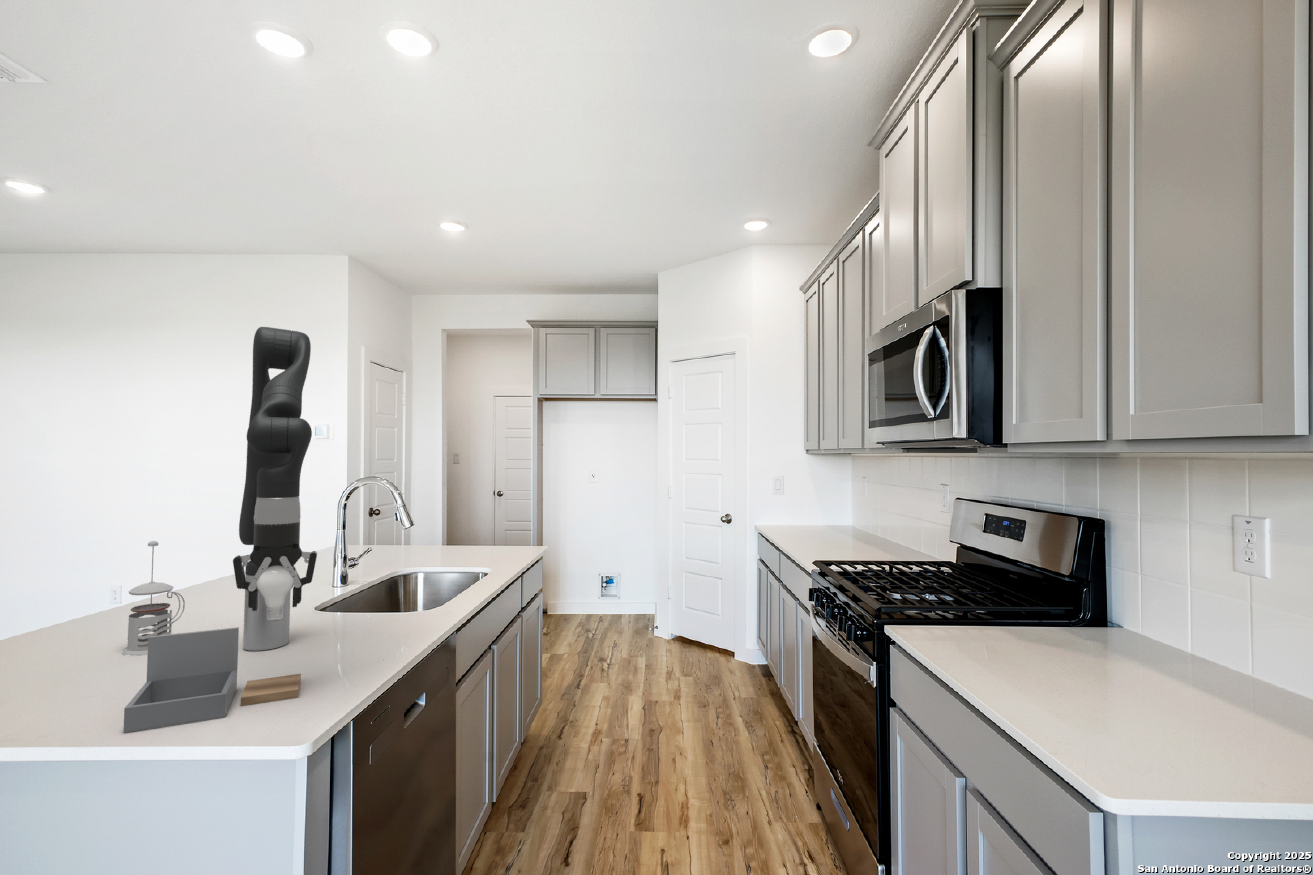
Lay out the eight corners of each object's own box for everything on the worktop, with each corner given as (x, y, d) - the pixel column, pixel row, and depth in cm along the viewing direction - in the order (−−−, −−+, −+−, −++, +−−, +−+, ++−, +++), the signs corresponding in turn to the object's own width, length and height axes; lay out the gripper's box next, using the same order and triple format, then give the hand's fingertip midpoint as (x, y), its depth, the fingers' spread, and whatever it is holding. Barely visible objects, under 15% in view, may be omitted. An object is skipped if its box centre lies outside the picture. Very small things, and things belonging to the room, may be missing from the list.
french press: (111, 652, 137) (115, 542, 138) (168, 638, 148) (172, 536, 149) (137, 658, 133) (141, 545, 134) (194, 643, 144) (197, 538, 145)
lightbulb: (266, 617, 118) (268, 560, 119) (300, 616, 119) (301, 560, 119) (247, 626, 112) (249, 566, 112) (283, 625, 113) (284, 566, 113)
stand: (247, 688, 117) (247, 680, 117) (300, 681, 121) (301, 673, 121) (240, 705, 109) (240, 697, 109) (298, 697, 113) (298, 689, 113)
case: (146, 702, 110) (149, 636, 111) (236, 689, 116) (238, 627, 117) (123, 733, 98) (126, 658, 98) (225, 717, 104) (227, 647, 105)
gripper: (320, 517, 123) (318, 600, 122) (235, 519, 116) (232, 607, 116) (319, 520, 116) (317, 608, 116) (229, 524, 110) (226, 617, 109)
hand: (275, 607), depth 116 cm, fingers closed on lightbulb, 6 cm apart
